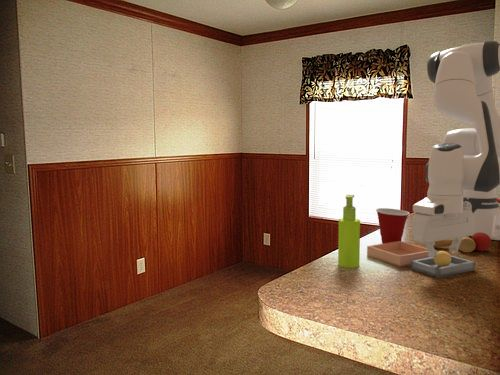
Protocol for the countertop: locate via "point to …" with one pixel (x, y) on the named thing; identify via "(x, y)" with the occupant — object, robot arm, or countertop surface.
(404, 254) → the dish
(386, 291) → the countertop surface
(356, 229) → the soap dispenser
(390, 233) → the plastic cup
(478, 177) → the robot arm
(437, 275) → the tray
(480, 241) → the kendama
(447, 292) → the countertop surface
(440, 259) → the ball
